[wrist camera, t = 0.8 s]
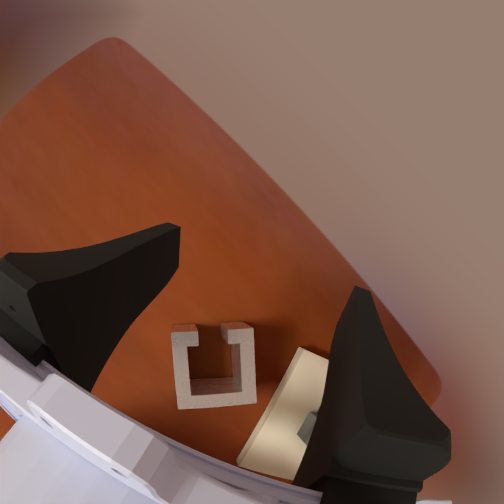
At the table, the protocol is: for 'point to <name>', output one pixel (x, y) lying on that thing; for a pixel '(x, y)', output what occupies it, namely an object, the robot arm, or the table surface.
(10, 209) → the table surface
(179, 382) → the grey slotted channel block
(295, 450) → the keyed post base
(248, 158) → the table surface
